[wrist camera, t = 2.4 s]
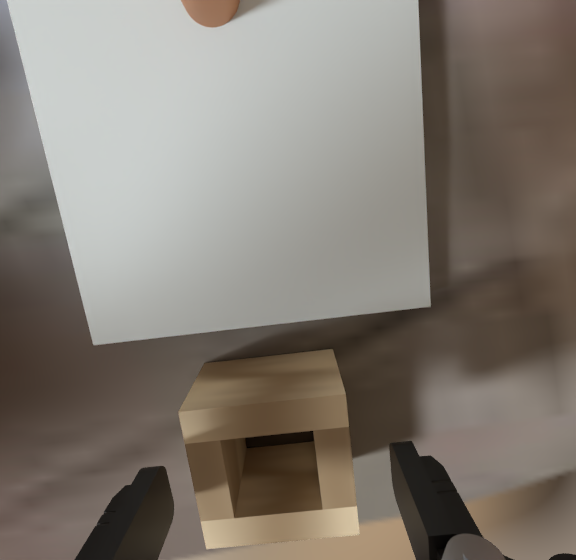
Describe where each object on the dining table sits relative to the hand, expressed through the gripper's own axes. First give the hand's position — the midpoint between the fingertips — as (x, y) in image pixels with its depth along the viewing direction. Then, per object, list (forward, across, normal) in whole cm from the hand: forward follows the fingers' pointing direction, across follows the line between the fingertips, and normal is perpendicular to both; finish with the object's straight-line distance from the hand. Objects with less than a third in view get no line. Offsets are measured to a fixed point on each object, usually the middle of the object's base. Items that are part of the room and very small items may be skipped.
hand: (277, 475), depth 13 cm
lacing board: (+5, 0, -14) cm, 14 cm away
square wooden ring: (+5, 0, 0) cm, 5 cm away
